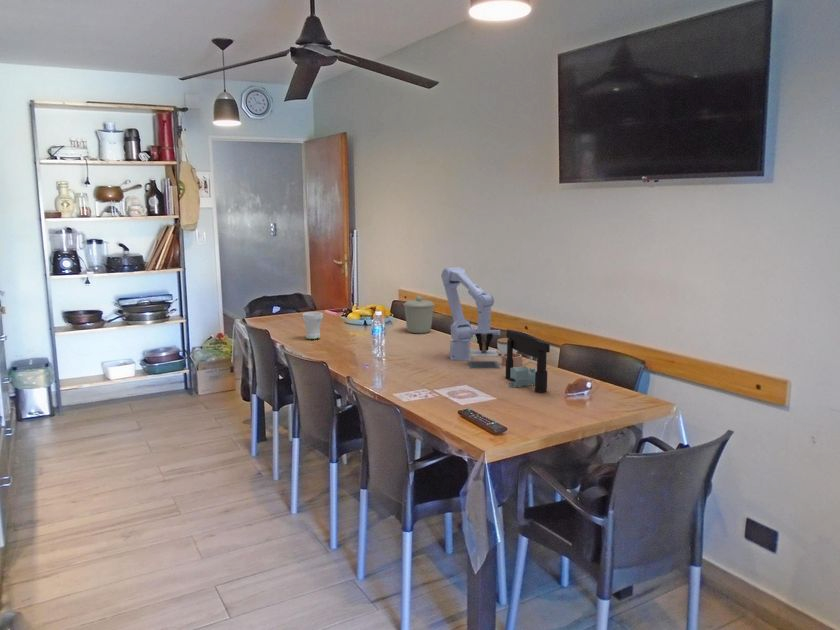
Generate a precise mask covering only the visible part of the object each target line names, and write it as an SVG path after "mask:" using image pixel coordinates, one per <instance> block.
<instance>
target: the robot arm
mask: <svg viewBox="0 0 840 630" xmlns="http://www.w3.org/2000/svg"><path fill="white" fill-rule="evenodd" d="M441 279H442V283H443V287H444V290H445V294H446V295H445V296H446V298H447V301H448V305H449V308H450V313H451V317H452V321H453V323H452V324H451V325H450V337H451V339H452V340H450V341H449V342H450V343H449V358H450V359H449V360H450V361H472V359H471V355H470V351H469V350H471V349H470V345H471V342H470V341H472V338H473V337H474V336H475V338H476V340H477V344H478V347H479V348H478V350H480V351H481V343H482V336H486V339H485V340H486V342H485V343H486V351H488V350H489V347H490V344H491V342H492V340H493V338H494V336H495V335H496V336H497V335H498V336H500V335H501V329H491V325H492V323H491V320H492V306H494V303H495V300H494V299H495V298H494V297H493V295H492V294H491V293H487V292H485V291H484V290H483V289H482V288H481V286H480V285H479V284H477V283H474V282H472V280H471V279H470V278H469V276H468V275H467V271H466V270H465V269H464V268H463V267H462V266H459V267H445V268H443V270H442V271H441ZM460 284H462V286H464V287H465V288H466V289H467V293H468V294H469V295H470V296H471V297H472V299H473V300H474V301H475V305H476V310H477V329H473V327H472V325H471V323H470V321H468V320H467V319H465V316H464V312H463V308H462V303H461V300H460V297H459V293H458V289H457V288H458V286H459V285H460Z"/></svg>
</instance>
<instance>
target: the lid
mask: <svg viewBox="0 0 840 630" xmlns="http://www.w3.org/2000/svg"><path fill="white" fill-rule="evenodd" d="M469 351H470V353H469V355H470V357H472V358H479V357H480V358H488V357H489V358H496V357H497V358H498V357H499V354H498V352H497V351H496V349H488V351H486V342H483V341H481V351H480V350H479V349H470V350H469Z"/></svg>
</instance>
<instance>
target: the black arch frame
mask: <svg viewBox="0 0 840 630" xmlns="http://www.w3.org/2000/svg"><path fill="white" fill-rule="evenodd" d="M506 338H509V339H508V340H507V359H506V366H505V379H507V380H508V382H510V383H508V387H511V388H516V387H517V388H522V387H530V386H534V392H536V393H537V392H538V393H545V392H547V391H548V370H547V354H548V353H550V347H551V346H550V344H551V343H549V342H547V341H545V340H543V339H541V338H538V337H536V336H533V335H531V334H529V333H526V332H523V331H519V330H514V329H509V328H507V329H506ZM513 349H515V350H517V351H518V352H520V353H522V354H524V355H527V356H528V357H532V358H535V359H536V368H535V367H529V368H528V367H527V366H525V365H524V366H517V367H513V362H514V361H513ZM532 384H534V385H532ZM525 385H526V386H525Z"/></svg>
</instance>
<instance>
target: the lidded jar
mask: <svg viewBox="0 0 840 630" xmlns="http://www.w3.org/2000/svg"><path fill="white" fill-rule="evenodd" d="M508 339H509V338H507V337H502V338H498V339H497V340H496V344H497V345H496V346H497V351H498V353H499V355H501V354H505V353H507V340H508ZM518 352H519V351H517V350H515V349H513V353H516V354H518Z"/></svg>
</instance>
